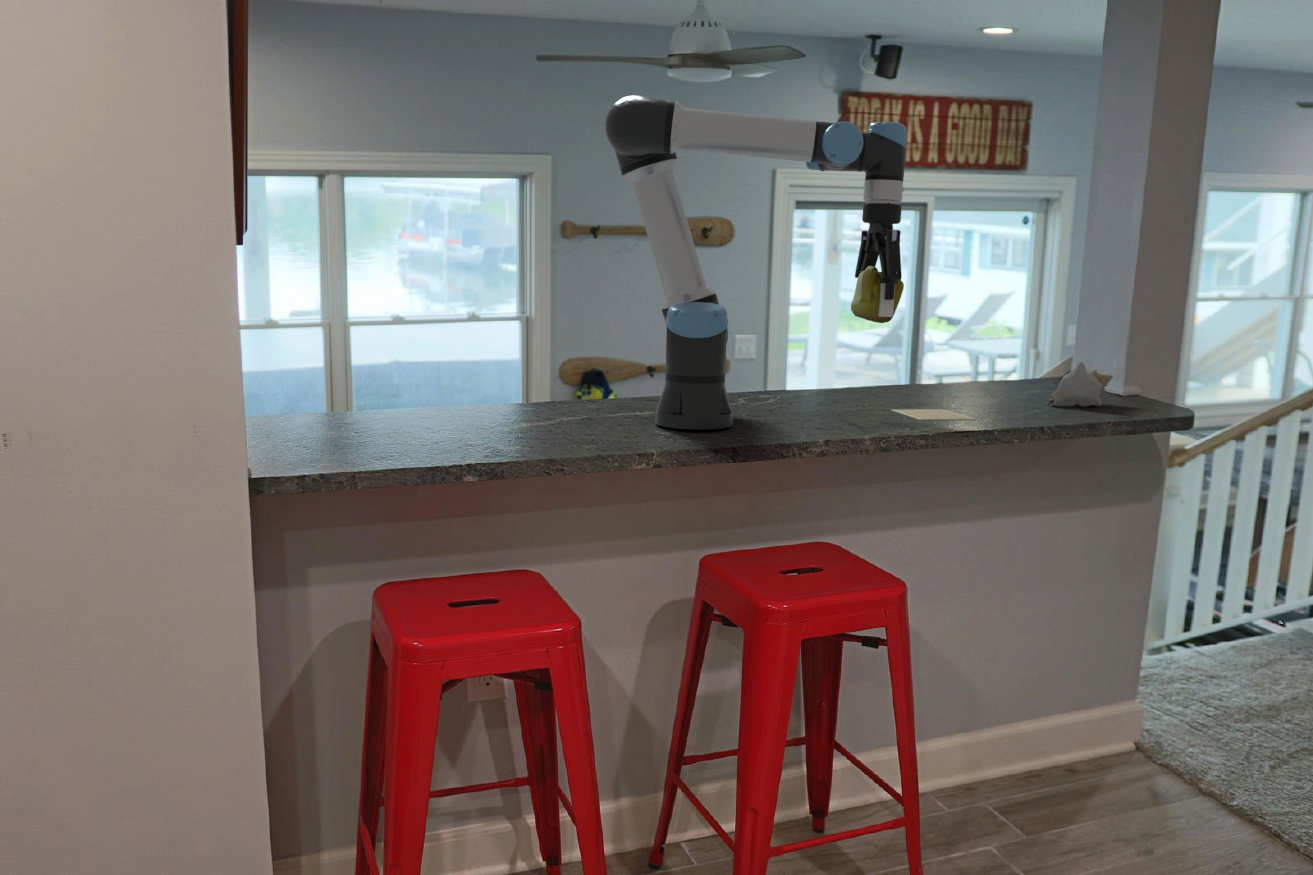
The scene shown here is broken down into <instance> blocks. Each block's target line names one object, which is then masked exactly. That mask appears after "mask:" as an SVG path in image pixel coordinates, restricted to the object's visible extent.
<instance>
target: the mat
mask: <svg viewBox="0 0 1313 875" xmlns="http://www.w3.org/2000/svg"><path fill="white" fill-rule="evenodd" d="M890 411H892V412H895V413H898V414H901V415H904V416H906V417H909V418H913V419H915V420H917V421H918V420H919V421H964V420H965V421H976V418H974V417H972V416H967V415H964V414H960V413H957V412H954V411H950V410H947V409H944V408H943V409H939V408H934V409H933V408H932V409H930V408H929V409H924V408H923V409H921V408H920V409H919V408H917V409H891V410H890Z"/></svg>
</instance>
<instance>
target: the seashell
mask: <svg viewBox="0 0 1313 875" xmlns="http://www.w3.org/2000/svg"><path fill="white" fill-rule="evenodd" d="M1113 378H1114V375H1111V374H1102V373H1100V372H1098V371H1097V370H1096V369H1094V370H1091V371H1090V369H1088V368H1086V367H1085V364H1084V362H1083V361H1081V360H1080V361H1079V362H1077V364H1076V365H1075V366H1074V368H1073V369H1072V370H1071V371H1070V372H1069V373H1067V374H1065V375H1064V376H1063V377H1062V378H1061V380H1060V382H1059V384H1058V387H1057V389H1056V390H1055V391H1054V392H1053V393H1051V395H1050V396H1051V398H1050V399H1048V400H1047V405H1048V406H1049V407H1051V406H1055V405H1057V404H1060V403H1065V402H1072V403H1074V404H1075V405H1077V406H1078V407H1084V408H1085V407H1086V408H1087V407H1091V406H1095V407H1101V406H1102V401H1101V399H1100V394H1102V393H1105V392H1106V387H1108V384H1109V383H1110V382H1111V380H1112V379H1113Z"/></svg>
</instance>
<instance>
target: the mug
mask: <svg viewBox="0 0 1313 875" xmlns="http://www.w3.org/2000/svg"><path fill="white" fill-rule="evenodd" d="M882 278H883V276H882V271H879V269H878V267H876V266H875V267H872V266H868V267H867V268H866V269H865V271H862V272H861V273H860V274H859V276H858V278H857V280H856V285H855V290H854V294H853V298H852V300H851V303H850V310H851V312H852V314H853V315H854V317H857V318H861V319H863V320H866V321H869V322H870V321H871V322H873V323H879V324H885V323H889V322H890V321H891V320H893V317H894V315H895V313H896V311H897V308H898V307H899V304H900V301H901V297H902V295H903V292H904V288H905V287H904V286H905V285H904V282H903V281H902V279H901V280H897V283H895V294H894V308H893V317H879V302H880V289H881V283H880V280H881V279H882Z"/></svg>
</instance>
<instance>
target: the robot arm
mask: <svg viewBox="0 0 1313 875" xmlns="http://www.w3.org/2000/svg"><path fill="white" fill-rule="evenodd" d="M604 124H605V125H604V126H605V134H606V137H607V140H608V142H609V144H610V145H611V146H612V148H613V151H614V152H615V156H616V160H617V163H618V167H619V170H620V173H621V176H622V179H625V180H626V181H627V182H630V183H631V184H632V186H633V190H634V194H635V197H636V202H637V204H638V208H639V211H640V214H641V218H642V222H643V225H644V228H645V231H646V235H647V238H648V243H649V246H650V248H651V251H652V256H653V259H654V261H655V265H656V269H657V272H658V273H657V274H658V275H659V279H660V283H661V286H662V289H663V292H664V296H665V300H664V301H663V304H662V306H661V312H662V316H663V319H664V322H665V325H666V336H665V337H666V342H665V379H664V380H665V381H664V382H665V383H664V387H663V390H662V393H661V396H660V399H659V401H658V404H657V407H656V410H655V416H654V417H655V421H654V422H655V425H657V426H661V427H665V428H669V429H670V428H671V429H680V430H697V431H698V430H705V431H706V430H719V429H720V430H721V429H727V428H731V427H732V426H733V424H734V420H733V419H734V414H733V410H732V406H731V403H730V400H729V397H728V396H729V395H728V392H727V389H726V368H727V367H726V363H727V362H726V361H727V345H728V341H729V330H728V326H729V319H728V311H727V309H726V307H724V306H723V305H721V304H720V303H719V299H718V296H717V292H716V291H715V290H713V289H711V288H710V287H708V286H707V284H706V281H705V278H704V274H703V270H702V267H701V264H700V260H699V256H698V254H697V250H696V247H695V246H696V245H695V243H694V240H693V236H692V232H691V229H690V226H689V222H688V218H687V215H686V212H685V208H684V204H683V202H682V199H681V194H680V190H679V187H678V184H677V181H676V177H675V173H674V170H675V167H676V165H677V164H678V162H679V160H678V157H677V152H678V150H684V151H695V152H705V153H714V154H715V153H716V154H724V155H735V156H736V155H737V156H744V157H745V156H747V157H756V158H765V159H775V160H776V159H777V160H785V161H796V162H805V166H806V169H809V170H812V171H821V172H825V171H826V172H827V171H829V172H830V171H832V172H864V173H865V178H864V179H865V180H864V184H863V186H864V187H863V197H862V199H863V201H864V202H865V203H864V205H863V206H862V218H861V219H862V223H864V224H869V228H868V230H862V231H861V237H860V238H861V239H860V246H859V251H858V257H857V260H856V261H857V262H856V267H855V271H854V272H855V273H854V278H855V279H856V278H857V279H858V276H859V274H860V273H861V272H862V271H865V269H866V268H867V267H868V266H872V267H876V265H877V263H878V258H879V263H880V269H881V270H880V271H881V272H882V276H883V278H882V279H881V280H880V283H881V289H880V302H879V317H894V316H893V308H894V294H895V283H897V280H901V281H902V263H901V262H902V261H901V245H900V244H901V243H900V242H901V230H899V229H894V225H898V224H900V223H901V220H902V205H901V204H899V203H901V202H902V200H903V192H905V187H904V180H905V179H904V178H905V168H906V167H905V165H906V156H907V127H906V126H905V125H904V124H903V123H900V122H896V121H877V122H871V123H870V124H869V126H868V129H867V132H862V131H861V130H860V128H859V127H858V126H857V125H856V124H854V123H852V122H849V121H847V120H846V121H845V120H844V121H840V120H839V121H836V122H827V121H816V120H808V119H800V118H799V119H798V118H789V117H780V116H769V115H768V116H767V115H761V114H760V115H759V114H758V115H757V114H748V113H742V112H741V113H740V112H739V113H738V112H728V111H719V110H712V109H711V110H709V109H698V108H689V107H683V106H682V105H681V103H680V102H679V101H678V100H667V99H663V98H661V99H660V98H656V97H655V98H654V97H652V96H651V97H650V96H646V95H641V94H631V95H627V96H624V97H621V98H620V99H618V100H617V101H616V102H615V103H614V104H613V105H612V106H611V107H610V108H609V110H608V113H607V115H606V118H605V122H604Z"/></svg>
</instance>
